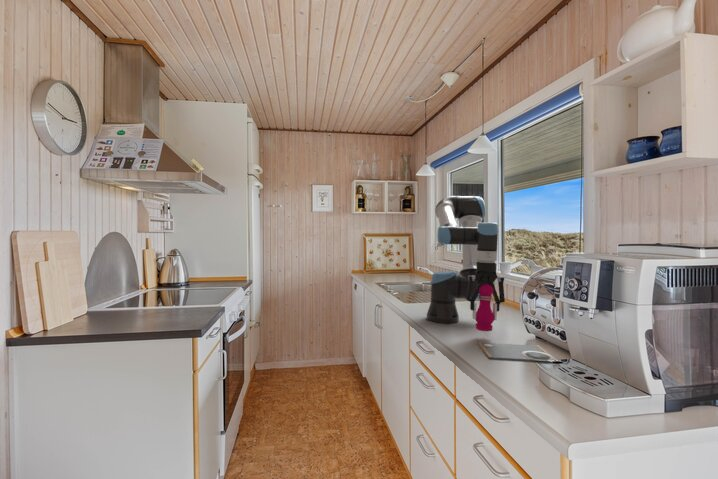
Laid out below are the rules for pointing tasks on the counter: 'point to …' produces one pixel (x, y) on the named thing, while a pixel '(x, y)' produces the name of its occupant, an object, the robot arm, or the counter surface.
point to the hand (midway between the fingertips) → (484, 318)
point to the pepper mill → (485, 309)
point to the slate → (515, 352)
